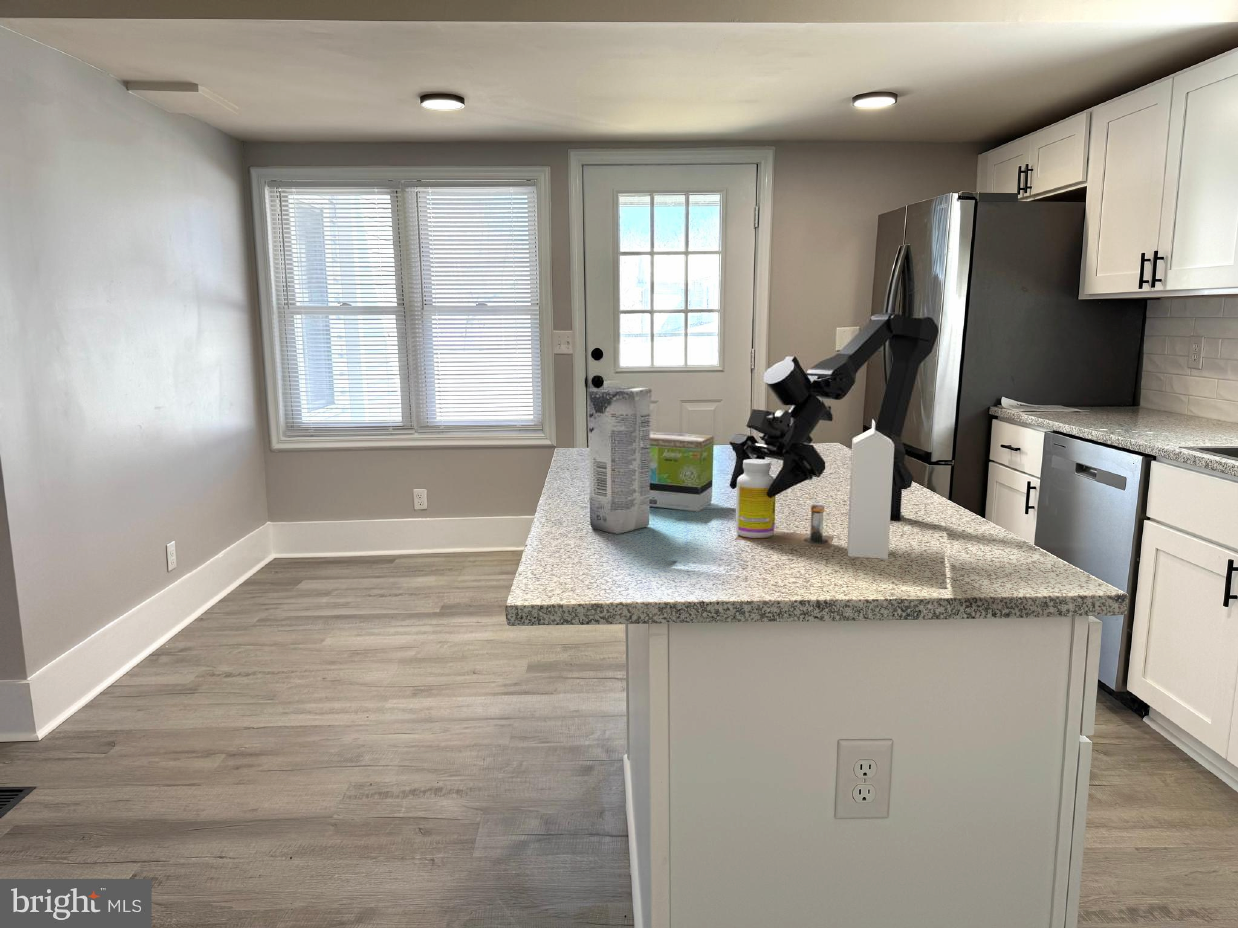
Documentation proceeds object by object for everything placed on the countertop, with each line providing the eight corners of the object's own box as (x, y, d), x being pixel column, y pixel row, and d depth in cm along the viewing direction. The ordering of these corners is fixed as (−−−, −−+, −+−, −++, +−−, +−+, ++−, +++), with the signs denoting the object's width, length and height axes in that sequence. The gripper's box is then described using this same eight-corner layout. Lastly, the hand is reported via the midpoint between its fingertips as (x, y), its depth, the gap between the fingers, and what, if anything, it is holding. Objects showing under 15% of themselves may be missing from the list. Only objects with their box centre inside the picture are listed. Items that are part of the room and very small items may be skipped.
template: (833, 541, 138) (834, 536, 138) (828, 553, 130) (828, 547, 130) (744, 533, 143) (744, 528, 143) (734, 544, 136) (734, 538, 136)
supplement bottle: (778, 539, 135) (781, 464, 133) (739, 539, 135) (741, 464, 133) (769, 529, 142) (771, 457, 140) (732, 529, 142) (733, 458, 140)
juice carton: (656, 526, 149) (657, 380, 144) (618, 536, 141) (618, 383, 137) (621, 519, 155) (621, 378, 150) (582, 528, 147) (581, 381, 143)
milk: (847, 562, 126) (853, 422, 122) (846, 552, 131) (852, 418, 128) (888, 565, 124) (895, 423, 121) (885, 554, 130) (892, 419, 126)
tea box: (630, 506, 166) (630, 435, 164) (646, 497, 175) (647, 430, 173) (699, 512, 161) (701, 439, 158) (713, 503, 170) (714, 433, 167)
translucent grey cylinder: (823, 539, 135) (825, 504, 134) (821, 542, 133) (823, 507, 132) (810, 538, 136) (811, 503, 135) (808, 541, 134) (810, 506, 133)
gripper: (738, 389, 144) (689, 454, 140) (816, 395, 129) (763, 469, 125) (769, 429, 150) (722, 493, 146) (847, 440, 134) (798, 512, 130)
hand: (749, 491), depth 136 cm, fingers open, 9 cm apart
